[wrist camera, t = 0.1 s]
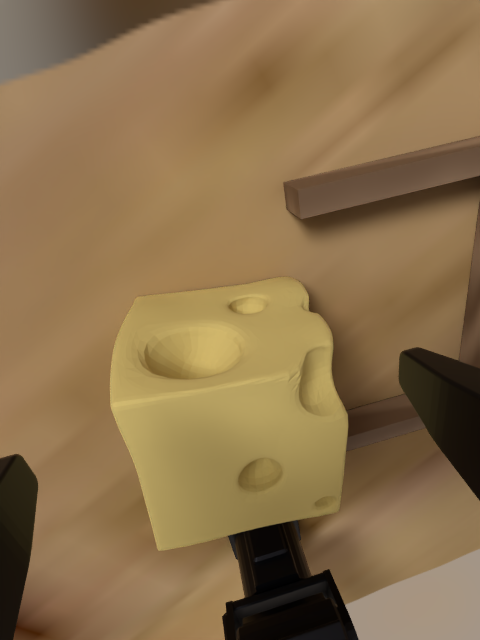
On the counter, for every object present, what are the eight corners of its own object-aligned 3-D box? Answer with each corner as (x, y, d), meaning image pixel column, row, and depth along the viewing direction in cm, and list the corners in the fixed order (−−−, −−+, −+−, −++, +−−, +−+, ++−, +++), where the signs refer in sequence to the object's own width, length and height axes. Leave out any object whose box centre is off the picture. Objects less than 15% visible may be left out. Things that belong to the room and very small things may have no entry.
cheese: (292, 270, 24) (369, 358, 15) (289, 402, 29) (346, 523, 20) (122, 290, 22) (100, 400, 14) (151, 426, 27) (149, 568, 19)
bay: (470, 388, 32) (493, 407, 30) (314, 433, 31) (326, 457, 29) (512, 128, 22) (550, 129, 20) (283, 182, 21) (297, 189, 19)
